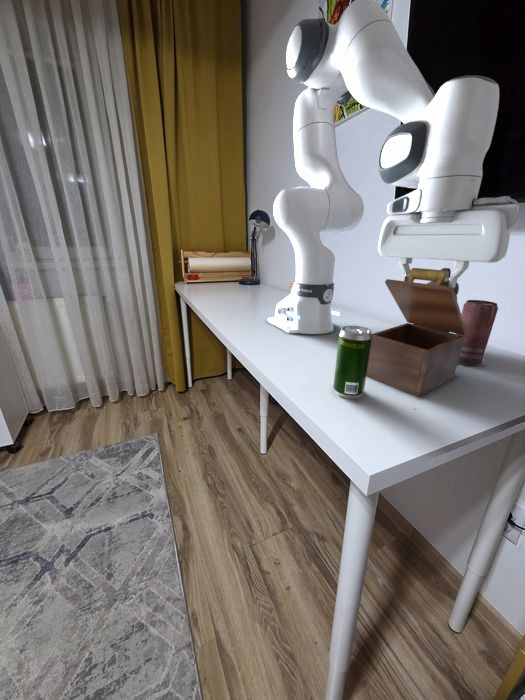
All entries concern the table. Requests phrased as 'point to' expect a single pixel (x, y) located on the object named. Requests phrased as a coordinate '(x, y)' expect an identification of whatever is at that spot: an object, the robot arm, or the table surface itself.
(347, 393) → the beer can
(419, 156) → the robot arm
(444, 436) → the table surface
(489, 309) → the can
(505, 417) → the table surface
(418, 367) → the chest
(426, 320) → the lid
